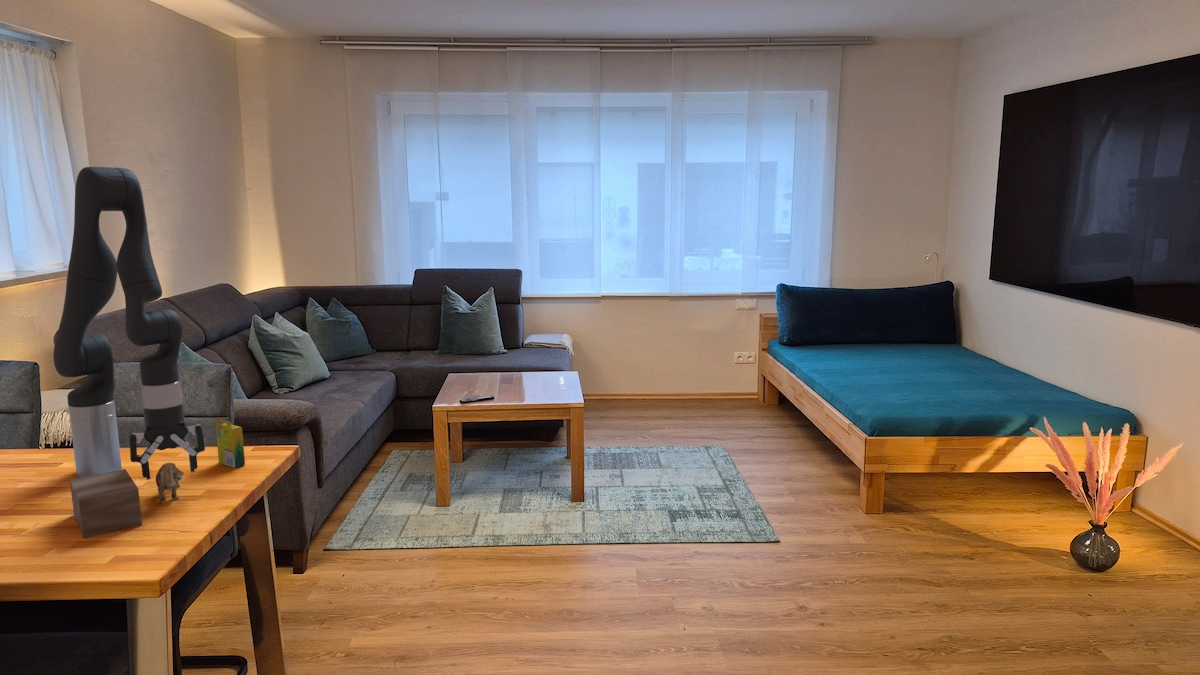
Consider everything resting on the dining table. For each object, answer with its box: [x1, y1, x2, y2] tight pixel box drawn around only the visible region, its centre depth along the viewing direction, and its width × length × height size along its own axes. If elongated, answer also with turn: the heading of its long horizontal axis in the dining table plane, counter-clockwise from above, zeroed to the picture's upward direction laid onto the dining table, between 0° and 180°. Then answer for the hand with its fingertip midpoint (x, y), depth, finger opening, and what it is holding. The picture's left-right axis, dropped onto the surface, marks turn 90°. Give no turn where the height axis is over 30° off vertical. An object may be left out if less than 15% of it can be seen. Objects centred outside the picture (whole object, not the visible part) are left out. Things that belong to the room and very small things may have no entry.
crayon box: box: [214, 417, 246, 469], centre depth 195 cm, size 7×3×12 cm, turn 54°
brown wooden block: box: [69, 468, 143, 539], centre depth 162 cm, size 15×10×8 cm, turn 39°
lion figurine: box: [155, 461, 185, 504], centre depth 175 cm, size 15×5×9 cm, turn 34°
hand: (170, 474), depth 174 cm, fingers open, 8 cm apart
